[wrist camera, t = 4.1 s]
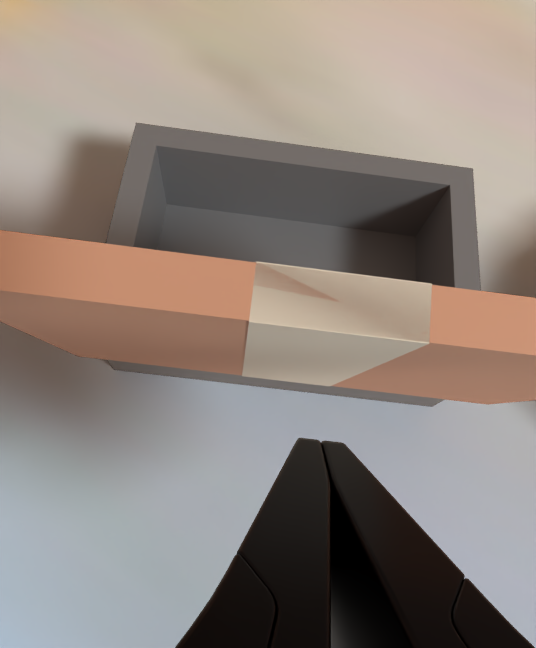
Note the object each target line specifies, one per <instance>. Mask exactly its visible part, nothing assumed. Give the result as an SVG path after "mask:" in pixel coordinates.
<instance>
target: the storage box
mask: <svg viewBox="0 0 536 648" xmlns="http://www.w3.org/2000/svg"><path fill="white" fill-rule="evenodd" d="M106 244H113V245H121V246H129V247H137V248H145V249H153V250H161V251H169V252H177V253H185V254H193V255H201V256H208V257H216V258H224V259H232V260H240V261H248V262H256V261H257V262H265V263H273V264H281V265H289V266H297V267H305V268H313V269H320V270H328V271H336V272H344V273H352V274H360V275H368V276H376V277H384V278H392V279H400V280H407V281H415V282H423V283H431V284H432V285H438V286H446V287H454V288H462V289H470V290H478V291H481V285H480V270H479V255H478V240H477V225H476V210H475V195H474V179H473V169H472V168H465V167H458V166H450V165H443V164H436V163H428V162H421V161H414V160H406V159H399V158H392V157H384V156H377V155H370V154H362V153H355V152H347V151H340V150H333V149H325V148H318V147H311V146H303V145H296V144H289V143H281V142H274V141H267V140H259V139H252V138H245V137H237V136H230V135H222V134H215V133H208V132H200V131H193V130H186V129H178V128H171V127H164V126H156V125H149V124H142V123H136V125H135V129H134V133H133V137H132V141H131V145H130V149H129V153H128V157H127V161H126V165H125V169H124V173H123V177H122V180H121V184H120V188H119V192H118V196H117V200H116V204H115V208H114V212H113V216H112V220H111V224H110V228H109V232H108V236H107V240H106ZM108 362H109V363H110V365H111V366H112V367H113V369H114V370H121V371H130V372H139V373H147V374H156V375H164V376H173V377H181V378H190V379H199V380H207V381H216V382H224V383H233V384H242V385H250V386H259V387H267V388H276V389H284V390H293V391H302V392H310V393H319V394H327V395H336V396H344V397H353V398H362V399H370V400H379V401H387V402H396V403H404V404H413V405H422V406H430V407H432V406H434V405H436V404H438V403H439V402H441V401H443V400H445V399H437V398H429V397H420V396H412V395H403V394H395V393H386V392H378V391H369V390H361V389H352V388H343V387H335V386H321V385H313V384H304V383H296V382H287V381H279V380H270V379H262V378H253V377H245V376H241V375H233V374H224V373H216V372H207V371H199V370H190V369H181V368H173V367H164V366H156V365H147V364H139V363H130V362H122V361H113V360H108Z"/></svg>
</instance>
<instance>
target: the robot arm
mask: <svg viewBox="0 0 536 648" xmlns="http://www.w3.org/2000/svg"><path fill="white" fill-rule="evenodd" d="M464 577H465V576H464V574H463V573H462V572H461V571H460V569H459V568H458V567H457V566H456V565H455V564H454V563H453V562H452V561H451V560H450V559H449V557H448V556H447V555H446V554H445V553H444V552H443V551H442V550H441V549H440V548H439V547H438V545H437V544H436V543H435V542H434V541H433V540H432V539H431V538H430V537H429V536H428V535H427V533H426V532H425V531H424V530H423V529H422V528H421V527H420V526H419V525H418V524H417V523H416V521H415V520H414V519H413V518H412V517H411V516H410V515H409V514H408V513H407V512H406V510H405V509H404V508H403V507H402V506H401V505H400V504H399V503H398V502H397V501H396V500H395V498H394V497H393V496H392V495H391V494H390V493H389V492H388V491H387V490H386V489H385V488H384V486H383V485H382V484H381V483H380V482H379V481H378V480H377V479H376V478H375V477H374V476H373V474H372V473H371V472H370V471H369V470H368V469H367V468H366V467H365V466H364V465H363V463H362V462H361V461H360V460H359V459H358V458H357V457H356V456H355V455H354V454H353V453H352V451H351V450H350V449H349V448H348V447H347V446H346V445H345V444H344V443H341V442H332V441H322V442H321V443H320V441H319V440H314V439H306V438H299V439H298V440H297V441H296V443H295V445H294V446H293V448H292V450H291V452H290V454H289V456H288V458H287V460H286V461H285V463H284V465H283V467H282V469H281V471H280V473H279V475H278V476H277V478H276V480H275V482H274V484H273V486H272V488H271V490H270V491H269V493H268V495H267V497H266V499H265V501H264V503H263V505H262V506H261V508H260V510H259V512H258V514H257V516H256V518H255V520H254V521H253V523H252V525H251V527H250V529H249V531H248V533H247V535H246V536H245V538H244V540H243V542H242V544H241V546H240V548H239V550H238V551H237V555H235V556H234V558H233V560H232V562H231V564H230V566H229V568H228V570H227V571H226V573H225V575H224V577H223V578H222V580H221V582H220V583H219V585H218V587H217V588H216V590H215V592H214V594H213V595H212V597H211V598H210V600H209V601H208V603H207V604H206V606H205V607H204V609H203V610H202V611H201V613H200V614H199V616H198V617H197V619H196V620H195V622H194V623H193V624H192V626H191V627H190V628H189V630H188V631H187V632H186V634H185V635H184V636H183V638H182V639H181V640H180V642H179V643H178V644H177V646H176V647H175V648H535V647H534V646H533V645H532V644H531V643H530V642H529V641H528V640H526V639H525V638H524V637H523V636H522V635H521V634H520V633H519V632H518V631H517V630H516V629H515V628H514V627H513V626H512V625H511V624H510V623H509V622H508V621H507V620H506V619H505V618H504V616H503V615H502V614H501V613H500V612H499V611H498V610H497V609H496V608H495V607H494V606H493V605H492V604H491V603H490V602H489V601H488V600H487V599H486V598H485V597H484V595H483V594H482V593H481V592H480V591H479V590H478V589H477V588H476V587H475V586H474V585H473V583H472V582H471V581H470V580H469V579H467V578H465V579H464Z"/></svg>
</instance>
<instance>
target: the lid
mask: <svg viewBox="0 0 536 648" xmlns="http://www.w3.org/2000/svg"><path fill="white" fill-rule="evenodd" d="M0 322H3V323H5V324H7V325H9V326H11V327H14V328H16V329H18V330H20V331H23V332H25V333H27V334H29V335H32V336H34V337H36V338H38V339H40V340H43V341H45V342H47V343H49V344H52V345H54V346H56V347H58V348H60V349H63V350H65V351H67V352H69V353H72V354H74V355H76V356H79V357H88V358H96V359H105V360H113V361H122V362H130V363H139V364H147V365H156V366H164V367H173V368H181V369H190V370H199V371H207V372H216V373H224V374H233V375H241V376H245V377H253V378H262V379H270V380H279V381H287V382H296V383H304V384H313V385H321V386H335V387H343V388H352V389H361V390H369V391H378V392H386V393H395V394H403V395H412V396H420V397H429V398H437V399H446V400H454V401H463V402H471V403H480V404H497V403H509V402H520V401H531V400H536V298H533V297H525V296H517V295H509V294H501V293H493V292H486V291H478V290H470V289H462V288H454V287H446V286H438V285H432V284H431V283H423V282H415V281H407V280H400V279H392V278H384V277H376V276H368V275H360V274H352V273H344V272H336V271H328V270H320V269H313V268H305V267H297V266H289V265H281V264H273V263H265V262H257V261H256V262H248V261H240V260H232V259H224V258H216V257H208V256H201V255H193V254H185V253H177V252H169V251H161V250H153V249H145V248H137V247H129V246H121V245H113V244H106V243H98V242H90V241H82V240H74V239H66V238H58V237H50V236H42V235H34V234H26V233H18V232H11V231H3V230H0Z"/></svg>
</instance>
